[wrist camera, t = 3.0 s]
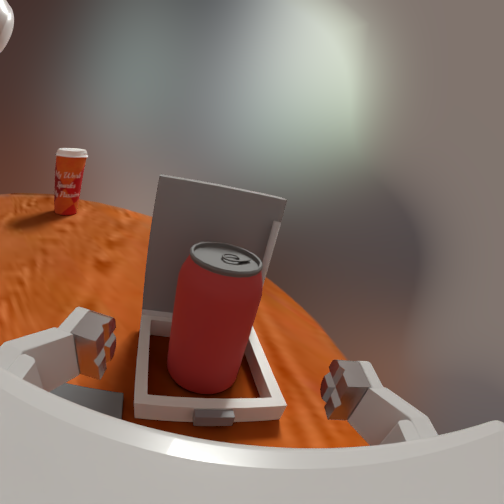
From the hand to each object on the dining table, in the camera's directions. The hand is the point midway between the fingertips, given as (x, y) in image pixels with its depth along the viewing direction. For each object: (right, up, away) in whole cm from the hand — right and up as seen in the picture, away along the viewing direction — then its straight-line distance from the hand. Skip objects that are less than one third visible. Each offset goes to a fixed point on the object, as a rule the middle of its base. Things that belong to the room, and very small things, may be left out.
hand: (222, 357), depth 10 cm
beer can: (-4, -8, +16) cm, 18 cm away
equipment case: (-4, -7, +16) cm, 18 cm away
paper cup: (-40, +13, +45) cm, 62 cm away
